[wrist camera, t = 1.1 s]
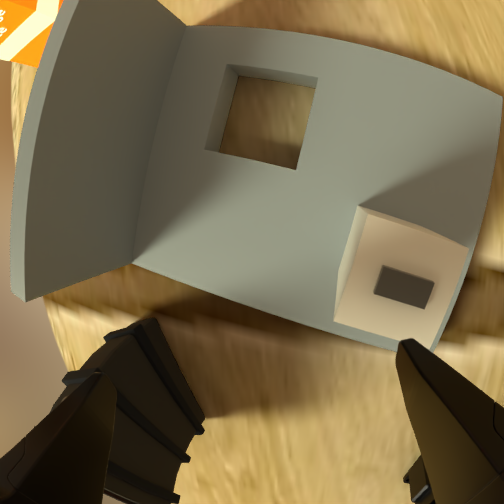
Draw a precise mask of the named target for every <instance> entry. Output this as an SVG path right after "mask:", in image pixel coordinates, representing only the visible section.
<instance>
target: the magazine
mask: <svg viewBox="0 0 504 504" xmlns="http://www.w3.org/2000/svg"><path fill="white" fill-rule="evenodd" d="M103 338H104V340H105V341H106V343H105V344H104V345H103V346H101V347H100V348H99V349H98V350H97V351H96V352H94V353H93V354H92V355H91V356H90V358H89V359H88V360H87V361H86V362H85V364H84V365H83V366H82V367H81V368H80V370H77V371H70V372H68V373H67V374H66V375H65V377H64V378H63V379H62V382H63V383H64V384H65V385H66V386H67V387H66V389H65V390H64V391H63V393H62V394H61V395H60V397H59V398H58V400H57V401H56V402H55V404H54V405H53V407H52V409H51V411H52V410H54V409H55V408H56V407H57V406H58V405H59V404H60V403H61V402H62V401H63V400H64V399H65V398H66V397H67V396H68V395H70V394H71V393H72V392H73V391H74V390H75V389H76V388H77V387H78V386H79V385H80V384H81V383H82V382H84V381H85V380H86V379H87V378H88V377H89V376H90V375H91V374H92V373H95V372H100V373H105V374H106V375H107V376H108V378H109V379H110V381H111V382H112V384H113V385H114V387H115V388H116V391H117V399H116V409H115V419H114V430H113V437H112V443H111V448H110V454H109V460H108V466H107V472H106V478H105V485H104V491H103V494H105V495H107V496H110V497H112V498H114V499H116V500H118V501H121V502H123V503H126V504H171V503H174V504H179V500H180V495H178V494H175V493H173V491H174V486H175V481H176V477H177V473H178V471H179V468H180V465H181V463H189V462H190V459H191V457H190V456H189V455H187V454H186V453H185V452H186V450H187V448H188V446H189V444H190V442H191V440H192V438H193V437H194V435H202V434H203V433H204V431H205V430H204V428H203V427H202V425H201V424H202V423H203V421H204V420H205V416H204V414H203V412H202V411H201V409H200V407H199V405H198V403H197V401H196V400H195V398H194V396H193V394H192V392H191V390H190V388H189V386H188V384H187V382H186V381H185V379H184V377H183V375H182V373H181V371H180V369H179V367H178V365H177V363H176V361H175V359H174V357H173V354H172V352H171V350H170V348H169V346H168V344H167V342H166V340H165V338H164V335H163V333H162V331H161V329H160V327H159V324H158V322H157V320H156V319H155V318H149V319H146V320H143V321H139V322H136V323H132V324H131V325H129V326H128V327H126V328H123V329H120V330H116V331H113V332H110V333H108V334H107V335H106V336H104V337H103ZM51 411H50V412H51ZM35 427H36V426H35Z"/></svg>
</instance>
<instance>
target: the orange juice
mask: <svg viewBox="0 0 504 504" xmlns="http://www.w3.org/2000/svg"><path fill="white" fill-rule="evenodd" d="M62 2H63V0H0V59H3V60H7V61H13V62H17V63H21V64H25V65H29V66H33V67H37V68H38V65H39V62H40V59H41V56H42V53H43V50H44V47H45V44H46V42H47V39H48V36H49V34H50V31H51V28H52V26H53V23H54V21H55V18H56V16H57V14H58V11H59V9H60V7H61V4H62Z"/></svg>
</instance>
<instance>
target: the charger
mask: <svg viewBox="0 0 504 504" xmlns="http://www.w3.org/2000/svg"><path fill="white" fill-rule="evenodd" d="M468 251H469V248H467V247H465V246H463V245H461V244H459V243H456V242H454V241H452V240H450V239H448V238H446V237H444V236H442V235H440V234H437V233H435V232H433V231H431V230H429V229H426V228H424V227H422V226H420V225H417V224H414V223H411V222H408V221H405V220H402V219H399V218H396V217H393V216H390V215H387V214H384V213H380V212H377V211H374V210H371V209H368V208H365V207H361V206H358V205H357V209H356V213H355V216H354V220H353V223H352V227H351V230H350V234H349V237H348V241H347V244H346V247H345V251H344V254H343V257H342V260H341V263H340V267H339V270H338V280H337V291H336V302H335V311H334V322H337V323H341V324H344V325H347V326H350V327H354V328H357V329H360V330H364V331H367V332H371V333H374V334H377V335H381V336H384V337H388V338H391V339H395V340H398V341H401V340H404V339H408V338H413V339H415V340H416V341H418V342H419V343H420V344H422V345H423V346H424V347H426V348H427V349H430V347H431V345H432V343H433V341H434V339H435V336H436V334H437V332H438V330H439V328H440V325H441V323H442V321H443V318H444V316H445V314H446V311H447V309H448V306H449V304H450V301H451V299H452V296H453V294H454V291H455V288H456V286H457V283H458V280H459V277H460V275H461V272H462V269H463V266H464V263H465V260H466V257H467V254H468Z"/></svg>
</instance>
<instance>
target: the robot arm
mask: <svg viewBox="0 0 504 504" xmlns="http://www.w3.org/2000/svg"><path fill="white" fill-rule="evenodd" d="M396 368H397V372H398V376H399V380H400V384H401V389H402V393H403V397H404V402H405V406H406V410H407V413H408V416H409V419H410V422H411V425H412V428H413V430H414V433H415V436H416V439H417V442H418V445H419V449H420V452H421V456H420V457H419V458H418V460H417V461H416V462H415V463H414V465H413V466H412V467H411V468H410V469H409V471H408V473H407V474H406V475H405V476H404V478H403V481H404V483H409V484H410V493H411V501H412V502H414V503H415V504H504V408H503V407H502V406H501V405H499V404H498V403H497V402H495V403H494V400H493V399H492V398H490V397H489V396H488V395H487V394H485V393H484V392H483V391H482V390H480V389H479V388H478V387H476V386H475V385H474V384H473V383H471V382H470V381H469V380H467V379H466V378H465V377H464V376H462V375H461V374H460V373H458V372H457V371H456V370H454V369H453V368H452V367H451V366H449V365H448V364H447V363H445V362H444V361H443V360H441V359H440V358H439V357H438V356H436V355H435V354H434V353H432V352H431V351H430V350H428V349H427V348H426V347H424V346H423V345H422V344H420V343H419V342H418V341H416V340H415V339H413V338H408V339H404V340H401V341H399V343H398V349H397V354H396ZM116 399H117V391H116V388H115V387H114V385H113V384H112V382H111V381H110V379H109V378H108V376H107V375H106V374H105V373H100V372H95V373H92V374H91V375H90V376H89V377H88V378H87V379H86V380H85V381H84V382H82V383H81V384H80V385H79V386H78V387H77V388H76V389H75V390H74V391H73V392H72V393H71V394H70V395H68V396H67V397H66V398H65V399H64V400H63V401H62V402H61V403H60V404H59V405H58V406H57V407H56V408H55V409H54V410H52V411H51V412H50V413H49V414H48V415H47V416H46V417H45V418H44V419H43V420H42V421H41V422H40V423H39V424H38V425H37V426H36V427H34V428H33V429H32V430H31V431H30V432H29V433H28V434H27V435H26V437H24V438H23V439H22V440H21V441H20V442H19V443H18V444H17V445H15V446H14V447H13V448H12V449H11V450H10V451H9V452H8V453H6V454H5V455H4V456H3V457H2V458H0V504H102V499H103V491H104V485H105V478H106V472H107V466H108V460H109V454H110V448H111V443H112V437H113V430H114V419H115V409H116Z"/></svg>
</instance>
